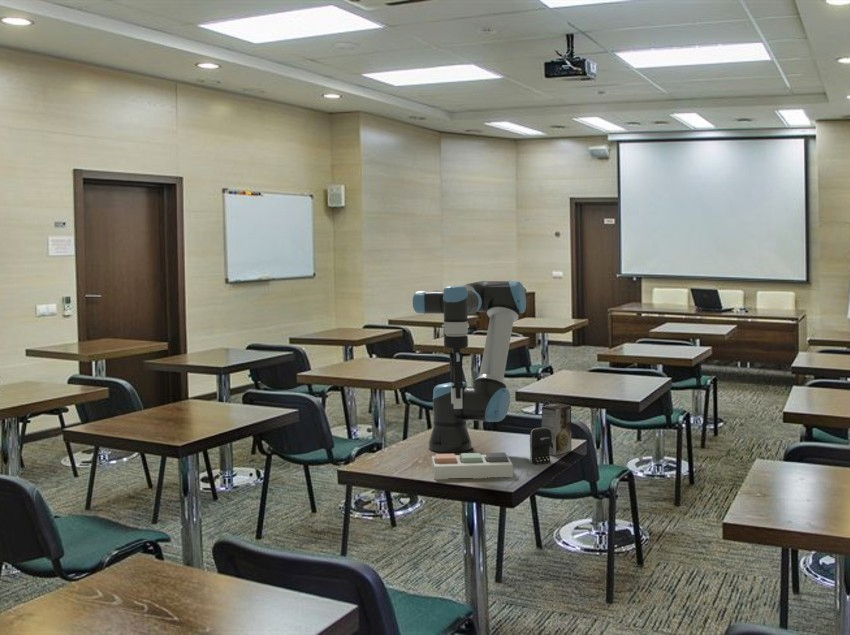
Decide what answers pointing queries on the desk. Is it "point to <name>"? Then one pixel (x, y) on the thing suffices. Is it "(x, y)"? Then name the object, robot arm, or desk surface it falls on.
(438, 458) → the key terracotta
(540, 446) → the black rounded block
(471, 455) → the key sage
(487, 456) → the key charcoal
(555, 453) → the coffee box
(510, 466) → the keypad
